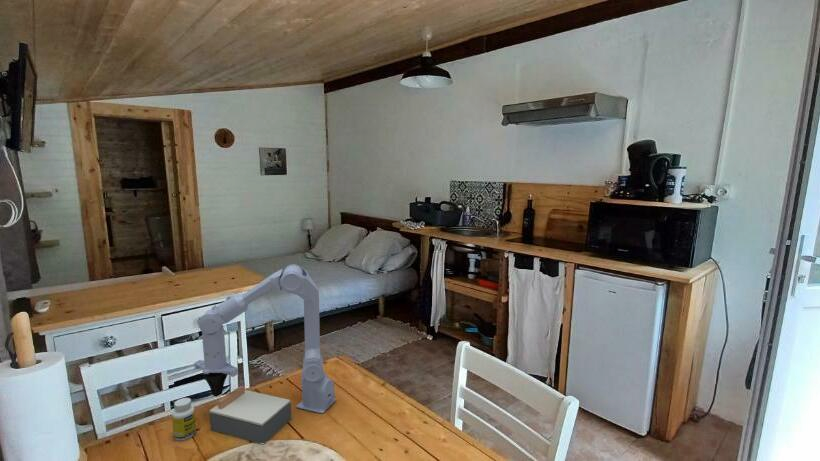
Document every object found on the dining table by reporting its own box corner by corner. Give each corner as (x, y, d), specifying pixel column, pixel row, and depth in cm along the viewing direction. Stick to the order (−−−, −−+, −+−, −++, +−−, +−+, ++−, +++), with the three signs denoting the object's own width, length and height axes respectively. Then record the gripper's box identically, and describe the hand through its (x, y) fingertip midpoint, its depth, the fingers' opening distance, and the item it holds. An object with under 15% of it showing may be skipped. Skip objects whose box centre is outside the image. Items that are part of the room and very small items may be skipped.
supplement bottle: (186, 442, 107) (183, 408, 106) (169, 439, 109) (165, 406, 107) (200, 430, 113) (198, 397, 111) (184, 427, 114) (181, 395, 112)
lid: (290, 401, 117) (290, 392, 117) (262, 426, 106) (261, 416, 105) (241, 390, 123) (240, 382, 123) (209, 412, 112) (208, 403, 112)
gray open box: (291, 418, 118) (290, 402, 117) (263, 444, 107) (262, 427, 106) (242, 406, 124) (241, 391, 123) (210, 430, 113) (209, 413, 112)
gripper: (183, 352, 115) (187, 397, 117) (223, 360, 110) (226, 406, 112) (204, 343, 122) (207, 385, 124) (242, 350, 117) (245, 393, 119)
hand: (217, 394), depth 118 cm, fingers closed
